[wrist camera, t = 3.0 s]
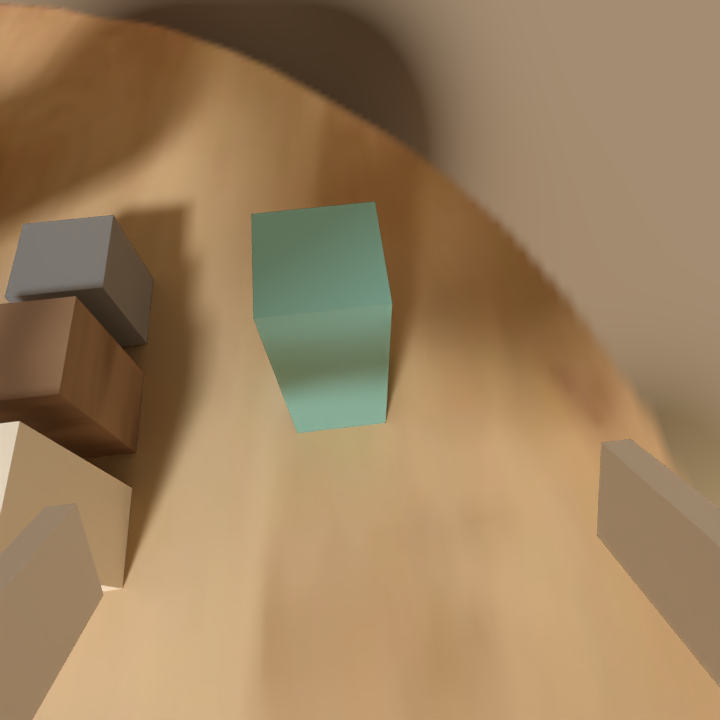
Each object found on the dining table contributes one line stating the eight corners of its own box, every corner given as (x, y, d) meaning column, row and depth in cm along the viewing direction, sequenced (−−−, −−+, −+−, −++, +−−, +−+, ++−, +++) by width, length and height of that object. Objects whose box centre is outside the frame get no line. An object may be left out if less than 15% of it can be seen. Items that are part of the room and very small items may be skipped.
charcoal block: (66, 352, 32) (4, 297, 27) (77, 287, 34) (23, 223, 29) (147, 344, 32) (102, 287, 27) (153, 279, 34) (113, 214, 29)
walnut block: (45, 462, 29) (-63, 407, 22) (59, 381, 31) (-34, 307, 24) (136, 452, 29) (58, 393, 22) (143, 372, 31) (76, 296, 24)
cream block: (20, 601, 25) (-170, 584, 17) (38, 499, 28) (-120, 436, 19) (122, 588, 26) (-11, 565, 17) (131, 488, 28) (19, 421, 19)
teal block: (297, 433, 29) (253, 318, 18) (292, 355, 31) (251, 214, 21) (385, 422, 29) (392, 303, 19) (374, 346, 32) (374, 201, 21)
